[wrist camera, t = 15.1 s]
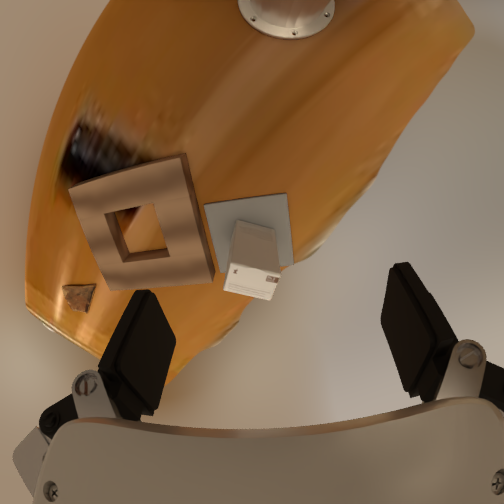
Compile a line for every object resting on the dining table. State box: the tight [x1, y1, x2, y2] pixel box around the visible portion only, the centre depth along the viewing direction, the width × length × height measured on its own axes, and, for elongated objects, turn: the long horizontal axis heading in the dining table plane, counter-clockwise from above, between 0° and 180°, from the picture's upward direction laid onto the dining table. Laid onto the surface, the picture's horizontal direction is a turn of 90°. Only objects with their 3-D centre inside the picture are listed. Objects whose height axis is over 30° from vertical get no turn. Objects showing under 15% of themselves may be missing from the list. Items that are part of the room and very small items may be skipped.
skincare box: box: [223, 220, 281, 300], centre depth 37 cm, size 6×4×12 cm
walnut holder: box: [68, 153, 215, 291], centre depth 41 cm, size 20×20×3 cm
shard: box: [62, 284, 96, 313], centre depth 51 cm, size 11×8×2 cm
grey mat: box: [204, 193, 294, 273], centre depth 42 cm, size 12×12×1 cm
